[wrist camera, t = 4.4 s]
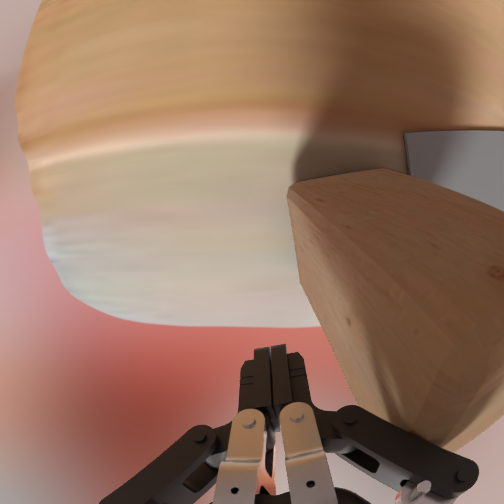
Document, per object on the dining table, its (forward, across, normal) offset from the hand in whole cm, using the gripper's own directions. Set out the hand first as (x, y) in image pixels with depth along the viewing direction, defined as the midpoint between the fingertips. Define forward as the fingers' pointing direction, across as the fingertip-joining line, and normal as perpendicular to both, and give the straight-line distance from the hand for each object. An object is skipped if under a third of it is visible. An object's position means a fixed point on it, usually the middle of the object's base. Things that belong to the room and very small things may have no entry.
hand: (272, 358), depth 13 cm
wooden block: (+14, -8, -1) cm, 15 cm away
